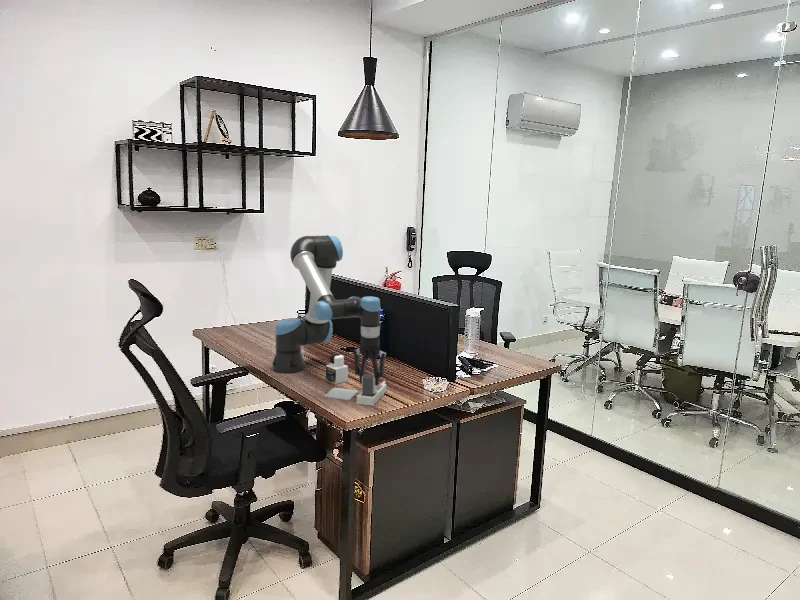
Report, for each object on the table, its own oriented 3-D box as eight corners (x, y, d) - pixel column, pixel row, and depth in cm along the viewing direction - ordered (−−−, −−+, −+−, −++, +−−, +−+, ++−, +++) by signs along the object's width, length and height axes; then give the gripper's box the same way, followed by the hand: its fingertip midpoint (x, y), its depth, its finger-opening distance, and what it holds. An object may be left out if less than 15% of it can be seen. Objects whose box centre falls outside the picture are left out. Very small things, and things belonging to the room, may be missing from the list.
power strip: (377, 382, 248) (377, 374, 247) (392, 384, 246) (392, 376, 245) (356, 403, 222) (356, 394, 221) (373, 405, 220) (373, 396, 220)
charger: (366, 397, 229) (366, 374, 227) (375, 398, 228) (375, 375, 226) (362, 402, 224) (362, 378, 222) (371, 403, 223) (372, 379, 221)
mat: (334, 388, 239) (334, 387, 239) (358, 391, 236) (358, 390, 236) (324, 397, 228) (324, 396, 228) (349, 400, 226) (349, 399, 225)
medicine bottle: (325, 380, 248) (325, 354, 246) (338, 377, 253) (338, 351, 251) (335, 384, 243) (335, 358, 241) (348, 381, 248) (348, 355, 246)
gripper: (346, 336, 220) (345, 392, 224) (387, 340, 215) (386, 397, 220) (352, 331, 227) (352, 386, 231) (393, 335, 222) (391, 391, 227)
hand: (369, 391), depth 225 cm, fingers closed on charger, 4 cm apart
